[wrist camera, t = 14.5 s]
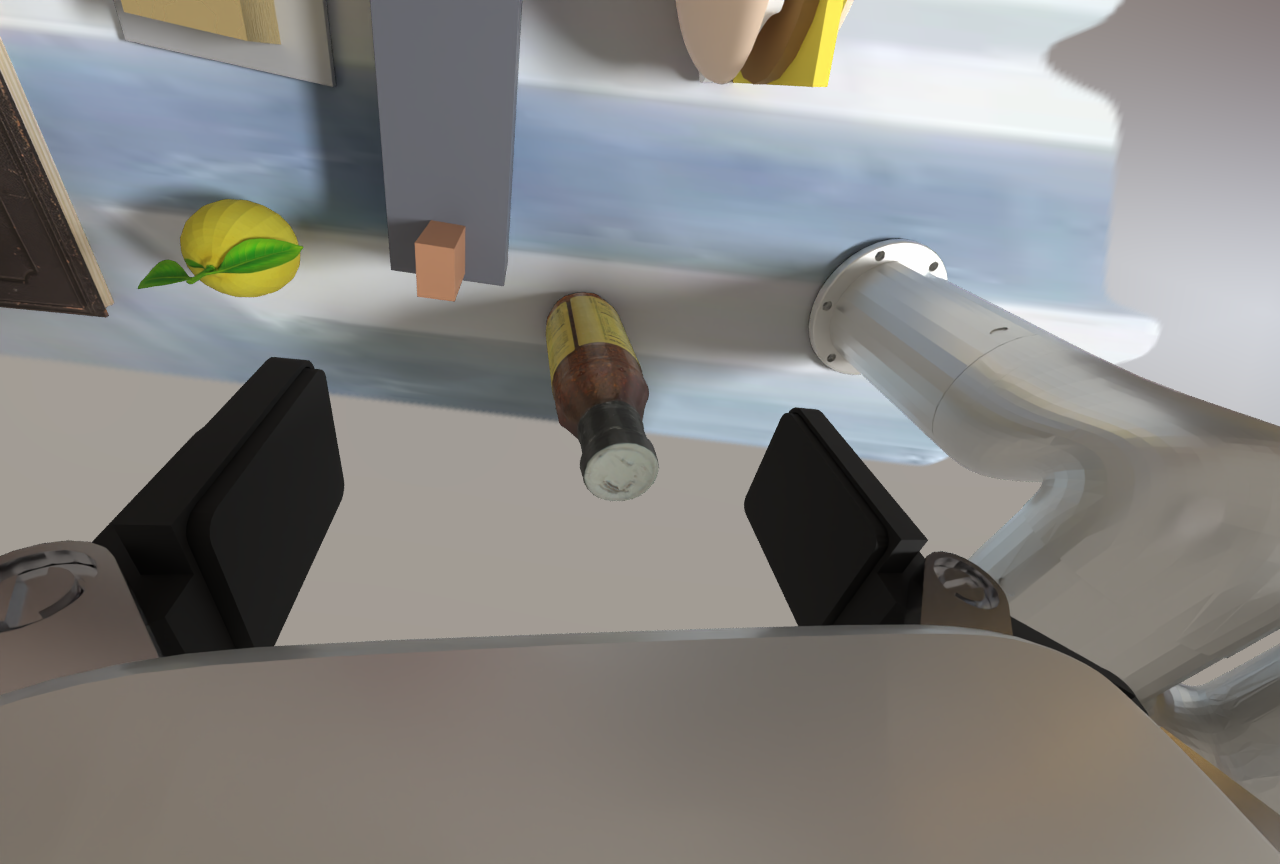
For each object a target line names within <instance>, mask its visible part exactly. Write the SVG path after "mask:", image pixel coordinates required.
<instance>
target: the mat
mask: <svg viewBox="0 0 1280 864" xmlns="http://www.w3.org/2000/svg"><path fill="white" fill-rule="evenodd" d="M113 1H114V4H115V8H116V11H117V14H118V17H119V21H120V24H121V27H122V31H123V34H124V37H125V40H127V41H131V42H136V43H140V44H144V45H149V46H153V47H158V48H162V49H167V50H171V51H176V52H180V53H184V54H189V55H193V56H198V57H202V58H207V59H211V60H216V61H220V62H224V63H229V64H233V65H238V66H242V67H247V68H251V69H256V70H260V71H265V72H269V73H273V74H278V75H282V76H287V77H291V78H296V79H300V80H305V81H309V82H313V83H318V84H322V85H327V86H331V87H336V81H335V72H334V63H333V55H332V46H331V38H330V29H329V20H328V12H327V3H326V0H274V4H275V10H276V17H277V23H278V29H279V35H280V41H281V45H280V44H270V43H261V42H252V41H245V40H241V39H237V38H232V37H228V36H224V35H220V34H215V33H211V32H207V31H202V30H198V29H194V28H190V27H185V26H181V25H177V24H173V23H168V22H164V21H160V20H156V19H151V18H147V17H143V16H139V15H134V14H130V13H126V12H124V10H123V7H122V3H121V0H113Z"/></svg>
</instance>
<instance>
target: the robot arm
mask: <svg viewBox="0 0 1280 864" xmlns="http://www.w3.org/2000/svg"><path fill="white" fill-rule="evenodd" d="M809 337H810V342H811V345H812V348H813V350H814V352H815V353H816V355H817V356H818V358H819V359H820V360H821V361H822V362H823V363H824V364H825V365H826V366H828V367H830V368H831V369H833V370H834V371H837V372H840V373H843V374H849V375H863V376H864V377H865V378H866V379H867V380H868V381H869V382H870V383H871V384H872V385H873V386H874V387H876V388H877V389H878V390H879V391H880V392H881V393H882V394H883V395H884V396H885V397H886V398H887V399H888V400H889V401H890V402H891V403H893V404H894V405H895V406H896V407H897V408H898V409H899V410H900V411H901V412H902V413H903V414H904V415H905V416H906V417H907V418H909V419H910V420H911V421H912V422H913V423H914V424H915V425H916V426H917V427H918V428H919V429H920V430H921V431H922V432H923V433H925V434H926V435H927V436H928V437H929V438H930V439H931V440H932V441H933V442H934V443H935V444H936V445H937V446H938V447H940V448H941V449H942V450H943V451H944V452H945V453H946V454H947V455H948V456H949V457H951V458H952V459H953V460H954V461H956V462H957V463H958V464H960V465H961V466H963V467H965V468H966V469H968V470H970V471H973V472H975V473H978V474H980V475H983V476H987V477H992V478H997V479H1003V480H1012V481H1026V482H1042V485H1041V487H1040V489H1039V490H1038V492H1036V494H1035V495H1034V496H1033V497H1032V498H1031V499H1030V500H1029V501H1028V502H1027V503H1026V504H1025V505H1024V506H1023V508H1022V509H1021V510H1020V511H1019V512H1018V513H1017V514H1016V515H1015V516H1013V517H1012V518H1011V519H1010V520H1009V521H1008V522H1007V523H1006V524H1005V525H1004V526H1003V527H1002V528H1001V529H999V530H998V531H997V532H996V533H995V534H994V535H993V536H992V537H991V538H990V539H989V540H988V541H987V542H985V543H984V544H983V545H982V546H981V547H980V548H979V549H978V550H977V551H976V552H975V553H974V554H973V555H972V556H971V557H970V558H969V559H968V560H967V559H965V558H963V557H960V556H958V555H956V554H953V553H948V552H943V551H940V552H932V553H931V554H929V555H928V556H927V557H926V558H924V557H923V556H922V554H921V553H920V552H919V551H920V550H921V549H922V547H923V546H924V545H925V543H926V542H927V541H928V540H927V538H926V537H925V536H924V535H923V533H922V532H921V531H920V530H919V529H918V527H917V526H916V525H915V524H914V523H913V521H912V520H911V519H910V518H909V517H908V515H907V514H906V513H905V512H904V511H903V509H902V508H901V507H900V506H899V505H898V503H897V502H896V501H895V500H894V499H893V497H892V496H891V495H890V494H889V493H888V492H887V490H886V489H885V488H884V487H883V485H882V484H881V483H880V482H879V481H878V479H877V478H876V477H875V476H874V475H873V473H872V472H871V471H870V470H869V469H868V467H867V466H866V465H865V464H864V463H863V461H862V460H861V459H860V458H859V457H858V455H857V454H856V453H855V452H854V450H853V449H852V448H851V447H850V446H849V444H848V443H847V442H846V441H845V440H844V438H843V437H842V436H841V435H840V434H839V432H838V431H837V430H836V429H835V428H834V426H833V425H832V424H831V423H830V422H829V420H828V419H827V418H826V417H825V416H824V414H823V413H822V412H821V411H819V410H816V409H806V408H796V407H795V408H793V409H791V410H790V411H789V413H785V414H784V415H783V416H782V417H781V419H780V421H779V424H778V426H777V428H776V430H775V433H774V435H773V437H772V439H771V442H770V444H769V446H768V448H767V450H766V453H765V455H764V457H763V459H762V462H761V464H760V466H759V468H758V471H757V473H756V475H755V477H754V480H753V482H752V484H751V486H750V489H749V491H748V493H747V495H746V498H745V502H744V509H745V513H746V515H747V518H748V520H749V522H750V524H751V526H752V528H753V530H754V533H755V535H756V537H757V539H758V541H759V543H760V545H761V547H762V550H763V552H764V554H765V556H766V558H767V560H768V562H769V565H770V567H771V569H772V571H773V573H774V575H775V577H776V579H777V582H778V583H779V586H780V588H781V590H782V592H783V594H784V597H785V599H786V601H787V603H788V605H789V607H790V609H791V612H792V613H793V616H794V618H795V620H796V622H797V624H798V626H795V627H757V628H721V629H690V630H658V631H629V632H599V633H569V634H543V635H542V634H541V635H518V636H517V635H515V636H489V637H462V638H438V639H437V638H436V639H410V640H385V641H365V642H347V643H328V644H308V645H291V646H274V645H275V643H276V641H277V639H278V637H279V635H280V632H281V630H282V628H283V626H284V624H285V622H286V619H287V617H288V615H289V613H290V611H291V608H292V606H293V604H294V602H295V600H296V598H297V595H298V593H299V591H300V589H301V587H302V585H303V582H304V580H305V578H306V576H307V574H308V571H309V569H310V567H311V565H312V563H313V561H314V559H315V556H316V554H317V552H318V550H319V548H320V546H321V543H322V541H323V539H324V537H325V535H326V533H327V530H328V528H329V526H330V524H331V522H332V520H333V517H334V515H335V513H336V511H337V509H338V506H339V504H340V502H341V500H342V497H343V491H344V478H343V472H342V467H341V461H340V455H339V449H338V444H337V438H336V432H335V426H334V421H333V416H332V409H331V403H330V398H329V392H328V386H327V380H326V376H325V373H324V371H323V370H320V369H314V366H313V364H312V363H311V362H310V361H309V360H298V359H288V358H278V357H271V358H269V359H268V360H267V361H266V362H265V363H264V364H263V365H262V366H261V367H260V368H259V369H258V370H257V371H256V372H255V373H254V374H253V375H252V377H251V378H250V379H249V380H248V381H247V382H246V383H245V384H244V385H243V386H242V387H241V388H240V389H239V390H238V391H237V392H236V393H235V395H234V396H233V397H232V398H231V399H230V400H229V401H228V402H227V403H226V404H225V405H224V406H223V407H222V408H221V409H220V411H219V412H218V413H217V414H216V415H215V416H214V417H213V418H212V419H211V420H210V421H209V422H208V423H207V424H206V425H205V426H204V427H203V428H202V429H200V430H199V431H198V432H196V433H195V434H194V436H192V437H191V439H190V440H189V441H188V442H187V443H186V444H185V445H184V446H183V447H182V448H181V449H180V450H179V451H178V452H177V453H176V454H175V455H174V456H173V457H172V458H171V459H170V460H169V462H168V463H167V464H166V465H165V466H164V467H163V468H162V469H161V470H160V471H159V472H158V473H157V474H156V475H155V476H154V477H153V478H152V480H151V481H150V482H149V483H148V484H147V485H146V486H145V487H144V488H143V489H142V490H141V491H140V492H139V493H138V494H137V495H136V496H135V497H134V498H133V500H131V502H130V503H129V504H128V505H127V506H126V507H125V508H124V509H123V510H122V511H121V512H120V513H119V514H118V515H117V517H115V518H114V520H112V522H111V523H110V524H109V525H108V526H107V527H106V528H105V529H104V530H103V531H102V532H101V533H100V534H99V535H98V536H97V537H96V539H94V541H93V542H92V543H91V542H84V541H59V542H51V543H42V544H38V545H34V546H31V547H26V548H22V549H19V550H15V551H12V552H9V553H7V554H4V555H1V556H0V864H1280V644H1278V645H1276V646H1274V647H1273V648H1271V649H1269V650H1267V651H1265V652H1263V653H1262V654H1260V655H1258V656H1256V657H1254V658H1253V659H1251V660H1249V661H1247V662H1245V663H1244V664H1242V665H1240V666H1238V667H1236V668H1235V669H1233V670H1231V671H1229V672H1226V673H1225V674H1223V675H1221V676H1219V677H1217V678H1215V679H1214V680H1212V681H1210V682H1208V683H1206V684H1203V685H1200V686H1189V685H1185V684H1182V683H1181V682H1183V681H1184V680H1186V679H1188V678H1190V677H1192V676H1193V675H1195V674H1197V673H1199V672H1200V671H1202V670H1204V669H1206V668H1207V667H1209V666H1211V665H1213V664H1214V663H1216V662H1218V661H1220V660H1222V659H1223V658H1229V657H1230V656H1233V655H1234V654H1236V653H1238V652H1240V651H1241V650H1243V649H1245V648H1247V647H1248V646H1250V645H1252V644H1254V643H1256V642H1257V641H1259V640H1261V639H1263V638H1264V637H1266V636H1268V635H1270V634H1271V633H1273V632H1275V631H1277V630H1278V629H1280V426H1277V425H1274V424H1271V423H1268V422H1265V421H1262V420H1260V419H1257V418H1254V417H1251V416H1248V415H1245V414H1242V413H1239V412H1236V411H1233V410H1230V409H1227V408H1224V407H1221V406H1218V405H1215V404H1213V403H1210V402H1206V401H1204V400H1201V399H1198V398H1195V397H1192V396H1189V395H1187V394H1184V393H1181V392H1179V391H1176V390H1174V389H1171V388H1168V387H1166V386H1163V385H1161V384H1158V383H1156V382H1153V381H1150V380H1148V379H1145V378H1143V377H1140V376H1138V375H1136V374H1133V373H1131V372H1129V371H1127V370H1125V369H1123V368H1121V367H1119V366H1116V365H1114V364H1112V363H1110V362H1108V361H1106V360H1103V359H1101V358H1099V357H1097V356H1095V355H1093V354H1090V353H1089V352H1087V351H1085V350H1083V349H1081V348H1079V347H1077V346H1074V345H1073V344H1071V343H1069V342H1067V341H1065V340H1063V339H1061V338H1059V337H1057V336H1055V335H1053V334H1051V333H1049V332H1047V331H1045V330H1043V329H1041V328H1039V327H1037V326H1035V325H1033V324H1031V323H1029V322H1028V321H1026V320H1024V319H1022V318H1020V317H1018V316H1016V315H1014V314H1012V313H1010V312H1008V311H1006V310H1004V309H1002V308H1000V307H998V306H996V305H994V304H992V303H990V302H988V301H986V300H984V299H982V298H981V297H979V296H977V295H975V294H973V293H971V292H969V291H967V290H965V289H963V288H961V287H959V286H957V285H955V284H953V283H951V282H949V281H948V279H947V271H946V269H945V266H944V264H943V261H942V260H941V259H940V257H939V256H938V255H937V253H936V252H934V251H933V250H931V249H930V248H929V247H927V246H925V245H923V244H921V243H918V242H916V241H911V240H907V239H890V240H886V241H882V242H877V243H875V244H873V245H870V246H868V247H866V248H863V249H862V250H860V251H859V252H857V253H855V254H854V255H852V256H851V257H849V258H848V259H847V260H846V261H845V262H843V263H842V264H841V265H840V266H839V267H838V268H837V269H836V270H835V271H834V272H833V273H832V274H831V276H830V277H829V278H828V279H827V281H826V282H825V284H824V285H823V287H822V288H821V290H820V291H819V293H818V295H817V298H816V300H815V302H814V304H813V307H812V311H811V314H810V320H809Z"/></svg>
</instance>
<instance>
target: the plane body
mask: <svg viewBox="0 0 1280 864" xmlns="http://www.w3.org/2000/svg"><path fill="white" fill-rule="evenodd" d="M370 4H371V17H372V30H373V43H374V55H375V68H376V81H377V94H378V107H379V120H380V133H381V146H382V159H383V172H384V184H385V197H386V210H387V223H388V236H389V249H390V262H391V270H395V271H402V272H408V273H415V274H416V279H417V297H425V298H432V299H440V300H447V301H455V299H456V296H457V294H458V291H459V288H460V285H461V283H462V280H464V281H471V282H478V283H485V284H492V285H499V286H504V282H505V275H506V269H507V263H508V245H509V227H510V209H511V191H512V173H513V156H514V138H515V120H516V102H517V84H518V66H519V48H520V30H521V12H522V0H370Z"/></svg>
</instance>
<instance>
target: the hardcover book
mask: <svg viewBox="0 0 1280 864" xmlns="http://www.w3.org/2000/svg"><path fill="white" fill-rule="evenodd" d="M113 303H114V301H113V299H112V297H111V294H110V292H109V290H108V287H107V285H106V283H105V280H104V278H103V276H102V273H101V271H100V269H99V266H98V264H97V262H96V259H95V257H94V254H93V252H92V250H91V247H90V245H89V243H88V240H87V238H86V236H85V233H84V231H83V229H82V226H81V224H80V222H79V219H78V217H77V215H76V212H75V210H74V208H73V205H72V203H71V201H70V198H69V196H68V194H67V191H66V189H65V187H64V184H63V182H62V180H61V177H60V175H59V173H58V170H57V168H56V166H55V163H54V161H53V159H52V156H51V154H50V152H49V149H48V147H47V145H46V142H45V140H44V138H43V135H42V133H41V130H40V128H39V126H38V123H37V121H36V119H35V116H34V114H33V112H32V109H31V107H30V105H29V102H28V100H27V98H26V95H25V93H24V91H23V88H22V86H21V84H20V81H19V79H18V77H17V74H16V72H15V70H14V67H13V65H12V63H11V60H10V58H9V56H8V53H7V51H6V49H5V46H4V44H3V42H2V39H1V37H0V307H6V308H16V309H26V310H36V311H46V312H57V313H67V314H77V315H87V316H98V317H108V316H109V315H108V313H107V310H106V307H108V306H109V305H113Z"/></svg>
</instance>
